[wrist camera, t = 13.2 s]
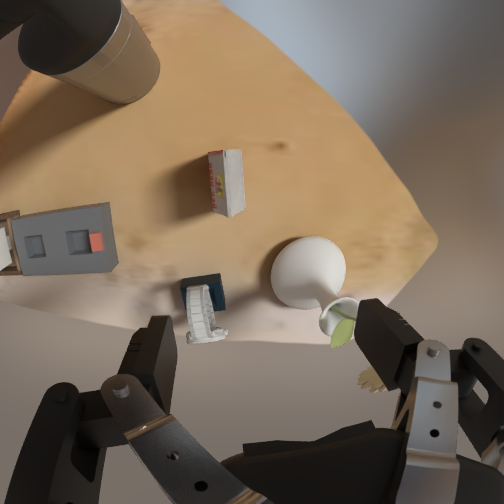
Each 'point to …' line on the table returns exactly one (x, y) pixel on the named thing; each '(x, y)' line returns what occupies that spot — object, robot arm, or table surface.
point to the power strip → (66, 241)
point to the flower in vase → (320, 291)
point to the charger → (4, 249)
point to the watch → (203, 307)
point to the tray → (5, 222)
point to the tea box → (227, 181)
